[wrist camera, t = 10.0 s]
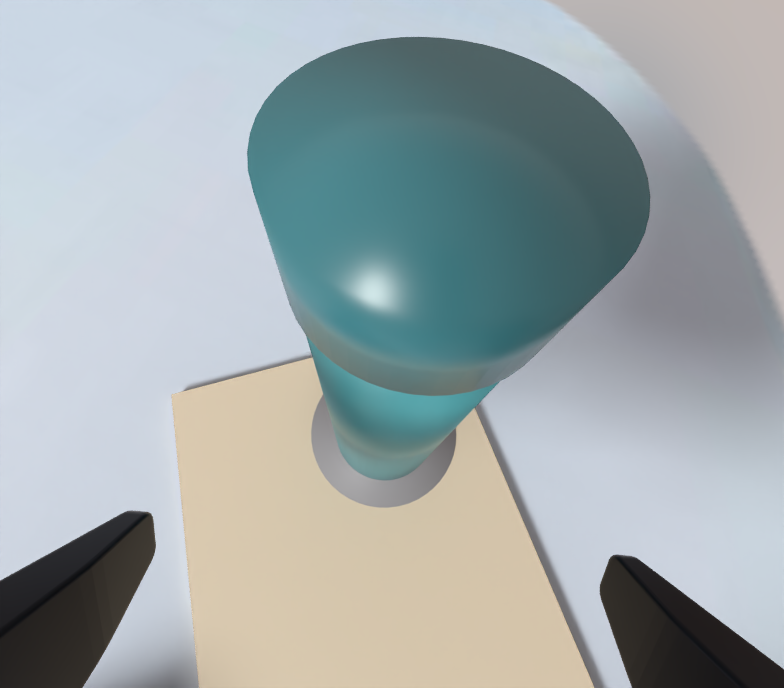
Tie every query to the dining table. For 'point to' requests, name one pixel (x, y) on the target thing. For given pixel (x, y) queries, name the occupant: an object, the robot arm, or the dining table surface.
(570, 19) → the dining table surface
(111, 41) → the dining table surface
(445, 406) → the ball
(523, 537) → the sheet
